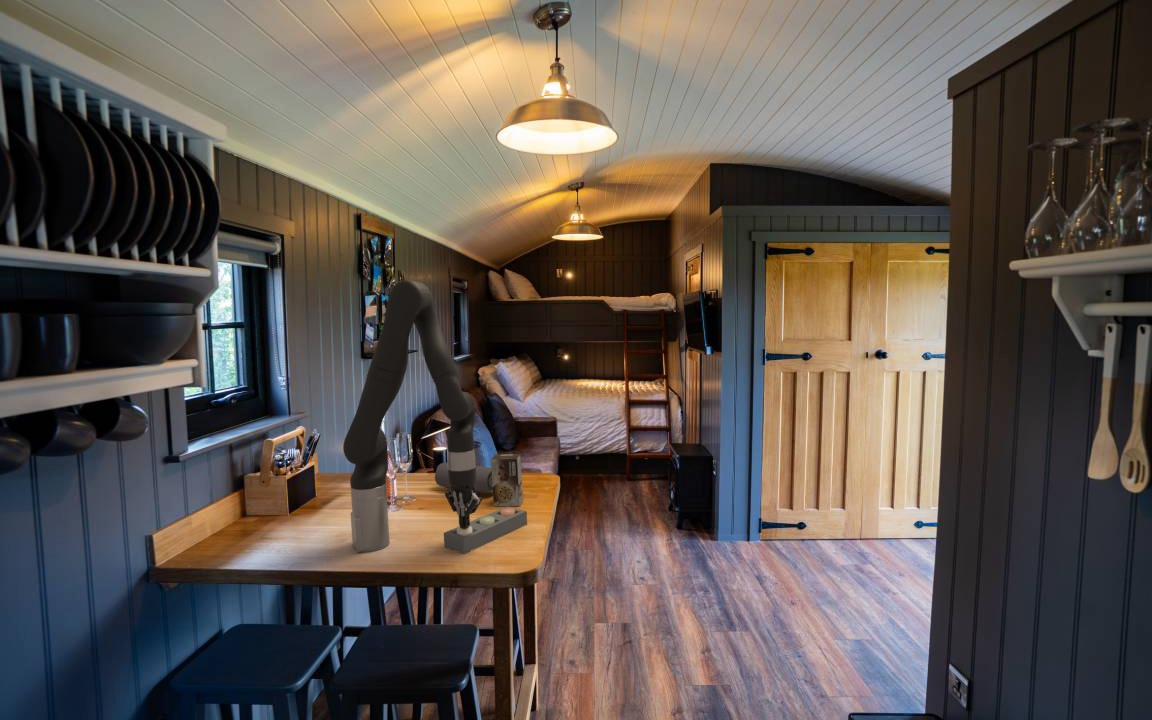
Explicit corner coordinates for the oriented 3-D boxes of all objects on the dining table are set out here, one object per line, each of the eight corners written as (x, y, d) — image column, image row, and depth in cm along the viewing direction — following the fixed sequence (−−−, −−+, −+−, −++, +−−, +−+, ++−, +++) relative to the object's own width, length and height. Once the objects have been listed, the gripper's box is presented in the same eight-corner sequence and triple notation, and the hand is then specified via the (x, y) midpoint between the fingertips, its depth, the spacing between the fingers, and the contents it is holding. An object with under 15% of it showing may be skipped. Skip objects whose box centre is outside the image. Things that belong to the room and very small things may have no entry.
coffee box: (523, 500, 192) (521, 453, 191) (519, 506, 186) (517, 458, 184) (497, 500, 193) (495, 453, 192) (492, 506, 187) (490, 458, 185)
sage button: (487, 533, 159) (486, 522, 159) (476, 530, 162) (476, 519, 162) (497, 528, 163) (497, 518, 162) (487, 525, 165) (487, 515, 165)
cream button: (464, 544, 153) (463, 532, 152) (454, 540, 155) (453, 529, 155) (475, 538, 156) (475, 527, 156) (465, 535, 158) (465, 524, 158)
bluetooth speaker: (502, 491, 202) (500, 464, 201) (486, 499, 194) (485, 471, 193) (451, 484, 212) (449, 458, 211) (434, 492, 204) (433, 465, 203)
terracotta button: (508, 524, 166) (507, 513, 166) (498, 521, 169) (497, 510, 168) (518, 519, 170) (517, 509, 169) (507, 517, 172) (507, 506, 172)
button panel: (464, 553, 150) (463, 539, 150) (444, 547, 155) (443, 532, 155) (527, 524, 170) (526, 511, 170) (507, 518, 175) (507, 506, 174)
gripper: (488, 466, 153) (491, 528, 154) (455, 459, 161) (458, 518, 162) (468, 473, 147) (470, 537, 148) (434, 465, 155) (437, 527, 156)
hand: (464, 527), depth 155 cm, fingers closed
